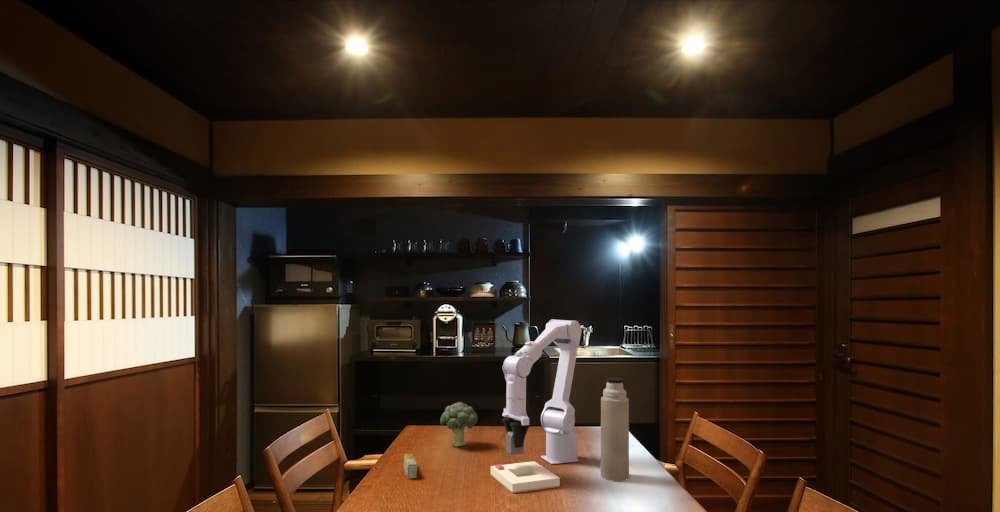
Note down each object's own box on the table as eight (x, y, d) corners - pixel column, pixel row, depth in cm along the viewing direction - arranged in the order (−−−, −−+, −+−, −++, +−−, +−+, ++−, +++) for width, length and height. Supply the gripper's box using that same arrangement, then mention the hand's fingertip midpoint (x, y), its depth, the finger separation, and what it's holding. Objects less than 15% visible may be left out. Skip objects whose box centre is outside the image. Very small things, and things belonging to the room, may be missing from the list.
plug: (518, 449, 166) (518, 430, 167) (523, 453, 163) (523, 433, 163) (505, 451, 165) (505, 431, 165) (510, 455, 161) (511, 435, 161)
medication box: (417, 479, 159) (417, 464, 160) (407, 479, 159) (408, 465, 159) (412, 466, 171) (412, 453, 171) (402, 467, 170) (403, 453, 170)
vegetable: (434, 444, 195) (435, 400, 195) (465, 439, 202) (466, 396, 203) (452, 453, 185) (453, 406, 186) (484, 446, 192) (485, 402, 193)
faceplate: (534, 469, 169) (534, 459, 169) (559, 486, 154) (559, 475, 154) (490, 474, 163) (490, 464, 164) (512, 493, 149) (512, 481, 149)
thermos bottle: (603, 471, 168) (603, 375, 170) (630, 474, 165) (630, 377, 167) (598, 479, 160) (598, 379, 162) (627, 482, 158) (627, 381, 160)
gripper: (494, 394, 170) (493, 440, 169) (513, 403, 157) (512, 453, 156) (516, 392, 173) (515, 438, 172) (536, 401, 159) (535, 450, 158)
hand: (515, 445), depth 164 cm, fingers closed on plug, 4 cm apart
